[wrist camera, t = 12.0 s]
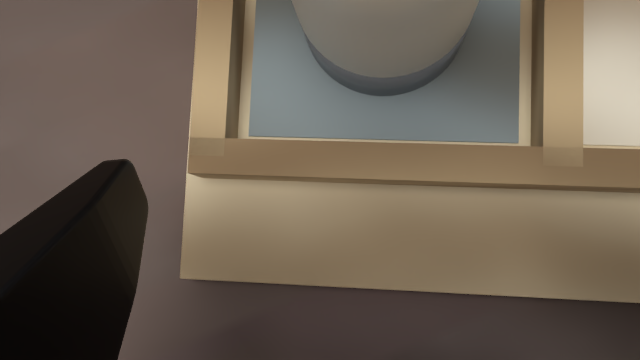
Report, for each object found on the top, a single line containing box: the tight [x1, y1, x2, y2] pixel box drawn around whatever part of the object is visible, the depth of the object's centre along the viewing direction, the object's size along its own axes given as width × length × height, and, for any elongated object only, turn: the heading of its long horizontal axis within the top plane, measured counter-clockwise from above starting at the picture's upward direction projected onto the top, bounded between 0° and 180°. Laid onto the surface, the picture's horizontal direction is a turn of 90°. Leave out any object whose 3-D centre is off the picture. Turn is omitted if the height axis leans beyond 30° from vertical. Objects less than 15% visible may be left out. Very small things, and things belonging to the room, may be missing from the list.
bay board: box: [180, 0, 640, 303], centre depth 17 cm, size 14×21×2 cm, turn 87°
